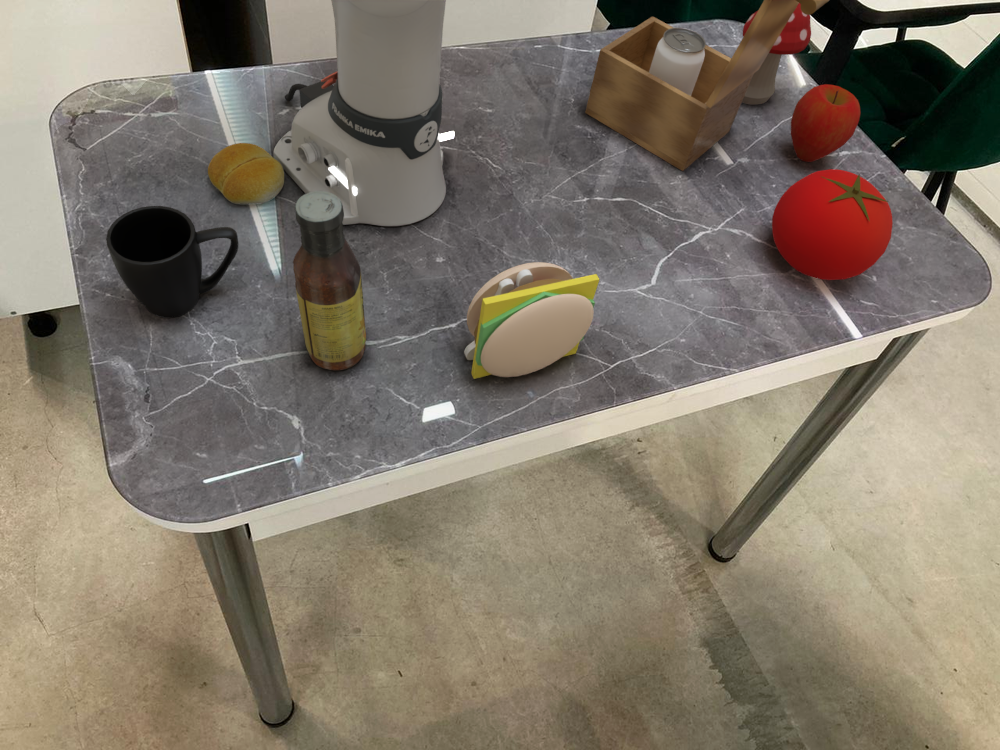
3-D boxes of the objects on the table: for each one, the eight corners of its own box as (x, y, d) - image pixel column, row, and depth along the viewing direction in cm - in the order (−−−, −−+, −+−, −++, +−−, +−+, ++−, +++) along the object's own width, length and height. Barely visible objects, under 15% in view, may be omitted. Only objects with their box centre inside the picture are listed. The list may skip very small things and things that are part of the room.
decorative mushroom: (763, 74, 124) (804, -20, 112) (792, 108, 120) (838, 14, 108) (708, 81, 122) (744, -15, 109) (736, 116, 117) (776, 20, 105)
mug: (250, 319, 85) (237, 257, 77) (130, 332, 82) (103, 268, 74) (245, 263, 89) (233, 199, 82) (131, 273, 87) (106, 208, 79)
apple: (831, 144, 116) (867, 78, 107) (837, 182, 111) (876, 116, 102) (773, 133, 116) (805, 66, 107) (777, 170, 111) (811, 104, 102)
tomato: (765, 209, 105) (802, 137, 96) (866, 242, 104) (914, 172, 95) (751, 274, 98) (790, 203, 89) (860, 310, 97) (912, 241, 87)
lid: (777, -24, 85) (813, 1, 84) (828, -60, 92) (863, -37, 91) (705, 104, 100) (735, 127, 99) (753, 66, 106) (782, 87, 105)
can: (650, 134, 110) (675, 56, 101) (628, 106, 114) (651, 28, 104) (689, 128, 112) (718, 50, 103) (667, 100, 116) (693, 23, 106)
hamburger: (554, 312, 91) (574, 236, 81) (584, 369, 86) (609, 296, 77) (454, 335, 87) (463, 258, 77) (481, 395, 83) (494, 322, 73)
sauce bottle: (378, 351, 84) (377, 211, 68) (333, 384, 81) (320, 245, 65) (336, 316, 87) (325, 172, 71) (291, 347, 83) (269, 204, 67)
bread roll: (241, 218, 93) (236, 191, 90) (200, 176, 97) (193, 149, 93) (300, 190, 97) (297, 164, 94) (259, 150, 101) (254, 124, 97)
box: (584, 112, 113) (599, 49, 105) (634, 78, 120) (652, 16, 112) (682, 171, 108) (706, 109, 100) (729, 132, 115) (755, 70, 107)
